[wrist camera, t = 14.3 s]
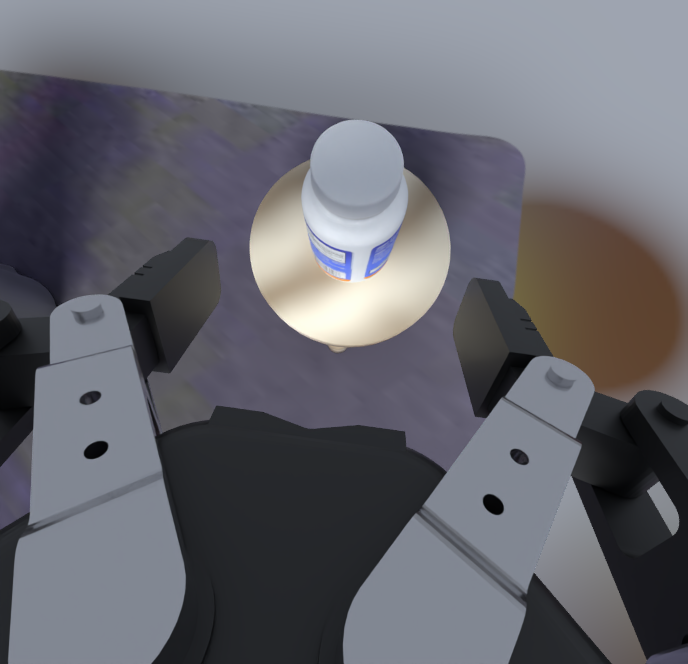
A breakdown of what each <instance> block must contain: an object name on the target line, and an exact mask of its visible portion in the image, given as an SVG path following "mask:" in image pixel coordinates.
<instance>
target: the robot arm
mask: <svg viewBox="0 0 688 664" xmlns="http://www.w3.org/2000/svg"><path fill="white" fill-rule="evenodd" d="M220 294H221V283H220V275H219V267H218V259H217V251H216V246H215V244H214V242H213V241H210V240H202V239H195V238H188V237H187V238H185V239H184V240H183V241H182V242H181V243H179V244H178V245H177V246H176V247H175V248H174V249H173V250H171V251H167V252H164V253H162V254H159V255H157V256H155V257H153V258H152V259H150V260H149V261H148V262H147V263H146V264H144V265H143V268H142V267H141V268H140V269H138V270H137V271H136V272H135V274H134V275H131V276H130V277H129V278H128V279H126V280H125V281H124V282H123V283H122V284H120V285H119V286H118V287H117V288H116V289H114V290H113V291H112V292H111V293H110V294H108V295H88V296H82V297H78V298H75V299H72V300H69V301H67V302H65V303H63V304H61V305H59V306H58V307H57V306H56V304H55V301H54V299H53V297H52V295H51V294H50V292H49V291H48V290H47V289H46V288H45V287H44V286H43V285H42V284H41V283H39V282H37V281H35V280H34V279H32V278H29V277H25V276H22V275H19V274H18V273H17V272H16V270H15V269H14V268H13V267H11V266H8V265H5V264H2V263H0V467H1V466H2V464H3V463H4V462H5V461H6V460H7V459H8V458H9V456H10V455H11V454H12V453H13V452H14V451H15V450H16V448H17V447H18V446H19V445H20V444H21V443H22V442H23V440H24V439H25V438H26V437H27V436H28V435H29V434H30V432H31V431H32V430H33V449H32V474H31V499H30V512H29V513H28V514H26V515H24V516H23V517H21V518H19V519H18V520H16V521H14V522H13V523H11V524H9V525H8V526H6V527H4V528H3V529H1V530H0V664H611V662H610V661H609V660H608V659H607V658H606V657H605V655H604V654H603V653H602V652H601V651H600V650H599V648H598V647H597V646H596V645H595V644H594V642H593V641H592V640H591V639H590V638H589V637H588V635H587V634H586V633H585V632H584V631H583V630H582V628H581V627H580V626H579V625H578V624H577V623H576V621H575V620H574V619H573V618H572V617H571V615H570V614H569V613H568V612H567V611H566V610H565V608H564V607H563V606H562V605H561V604H560V603H559V601H558V600H557V599H556V598H555V597H554V596H553V595H552V593H551V592H550V591H549V590H548V589H547V588H546V586H545V585H544V584H543V583H542V581H541V580H540V579H539V578H538V577H537V576H536V574H535V573H534V570H535V567H536V565H537V562H538V560H539V557H540V554H541V552H542V549H543V546H544V544H545V541H546V538H547V536H548V533H549V531H550V528H551V526H552V523H553V520H554V518H555V515H556V512H557V510H558V507H559V505H560V502H561V499H562V496H563V494H564V491H565V489H566V486H567V483H568V481H569V478H570V476H572V478H573V481H574V483H575V485H576V488H577V490H578V493H579V495H580V498H581V500H582V503H583V505H584V507H585V510H586V512H587V515H588V517H589V519H590V522H591V524H592V527H593V529H594V532H595V534H596V537H597V539H598V542H599V544H600V547H601V549H602V551H603V554H604V556H605V559H606V561H607V564H608V566H609V569H610V571H611V574H612V576H613V578H614V581H615V583H616V586H617V588H618V590H619V593H620V596H621V598H622V600H623V603H624V605H625V608H626V610H627V613H628V615H629V618H630V620H631V622H632V625H633V627H634V630H635V632H636V635H637V637H638V640H639V642H640V644H641V647H642V649H643V652H644V654H645V656H646V659H647V662H646V664H688V405H686V404H685V403H683V402H681V401H679V400H678V399H676V398H674V397H671V396H669V395H666V394H663V393H661V392H656V391H651V390H643V391H640V392H638V393H637V394H636V395H635V396H634V397H633V398H632V399H631V400H630V402H629V403H626V402H623V401H620V400H617V399H614V398H612V397H608V396H606V395H603V394H600V393H597V392H595V391H594V385H593V383H592V381H591V380H590V378H589V377H588V376H587V375H586V374H585V373H584V372H582V371H581V370H580V369H579V368H577V367H576V366H574V365H572V364H571V363H568V362H566V361H564V360H561V359H559V358H555V357H553V355H552V353H551V352H550V350H549V349H548V347H547V345H546V343H545V342H544V340H543V338H542V337H541V335H540V333H539V332H538V331H536V330H537V328H536V327H535V325H534V324H533V322H531V318H530V317H529V315H528V313H527V312H526V310H525V309H524V308H523V307H522V306H520V305H519V304H518V303H517V302H516V301H515V300H513V299H509V298H508V296H507V295H506V293H505V291H504V289H503V287H502V286H501V284H500V282H499V281H494V280H487V279H480V278H473V279H471V281H470V282H469V284H468V287H467V289H466V292H465V295H464V297H463V300H462V303H461V305H460V308H459V311H458V313H457V316H456V319H455V322H454V327H453V337H454V341H455V345H456V349H457V352H458V356H459V360H460V363H461V367H462V371H463V374H464V378H465V382H466V385H467V389H468V393H469V396H470V400H471V404H472V407H473V411H474V415H475V417H482V418H486V420H485V421H484V423H483V424H482V425H481V427H480V428H479V429H478V431H477V432H476V434H475V435H474V436H473V438H472V439H471V440H470V442H469V443H468V445H467V446H466V447H465V449H464V450H463V451H462V453H461V454H460V455H459V457H458V458H457V460H456V461H455V462H454V464H453V465H452V466H451V468H450V469H449V471H448V472H446V471H445V470H444V469H443V468H442V467H440V466H439V465H438V464H436V463H435V462H434V461H432V460H431V459H429V458H428V457H426V456H424V455H423V454H421V453H419V452H417V451H415V450H413V449H410V448H408V447H406V438H405V432H404V431H397V430H390V429H382V428H375V427H368V426H361V425H356V426H343V427H331V428H319V429H307V428H304V427H301V426H298V425H296V424H293V423H291V422H288V421H285V420H283V419H280V418H277V417H275V416H272V415H269V414H267V413H264V412H259V411H252V410H245V409H237V408H230V407H223V406H216V407H215V410H214V412H213V414H212V416H211V418H210V420H205V421H199V422H194V423H189V424H186V425H182V426H179V427H176V428H174V429H171V430H168V431H166V432H164V433H163V432H162V428H161V425H160V421H159V417H158V414H157V410H156V407H155V403H154V399H153V396H152V392H151V388H150V385H149V382H148V379H147V377H148V376H149V374H150V373H151V372H152V371H156V372H163V373H171V371H172V370H173V368H174V367H175V365H176V364H177V362H178V361H179V360H180V358H181V357H182V355H183V354H184V352H185V351H186V349H187V348H188V346H189V345H190V344H191V342H192V341H193V339H194V338H195V336H196V335H197V333H198V332H199V330H200V329H201V327H202V326H203V325H204V323H205V322H206V320H207V319H208V317H209V316H210V314H211V313H212V311H213V310H214V309H215V307H216V306H217V304H218V302H219V299H220ZM659 481H660V483H661V484H662V486H663V488H664V489H665V491H666V492H667V494H668V496H669V497H670V499H671V500H672V502H673V504H674V505H675V507H676V509H677V512H678V514H679V528H678V530H677V532H676V534H675V535H673V536H672V534H671V532H670V531H669V529H668V527H667V525H666V524H665V522H664V520H663V518H662V517H661V515H660V513H659V511H658V510H657V508H656V506H655V504H654V503H653V501H652V499H651V497H650V496H649V494H648V492H647V490H648V489H650V488H651V487H652V486H653V485H655V484H656V483H657V482H659Z"/></svg>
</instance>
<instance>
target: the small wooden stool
mask: <svg viewBox="0 0 688 664" xmlns="http://www.w3.org/2000/svg"><path fill="white" fill-rule="evenodd" d="M309 169H310V160H308V161H306V162H304V163H302V164H300V165H298V166H297V167H295V168H293V169H292V170H290V171H289V172H288V173H286V174H285V175H284V176H282V177H281V178H280V179H279V180H278V181H277V182H276V183H275V184H274V185H273V186H272V188H271V189H270V190H269V192H268V193H267V194H266V196H265V197H264V199H263V201H262V203H261V204H260V206H259V208H258V211H257V213H256V216H255V218H254V222H253V225H252V229H251V236H250V259H251V265H252V270H253V273H254V277H255V280H256V282H257V285H258V287H259V289H260V291H261V293H262V295H263V296H264V298H265V299H266V301H267V303H268V304H269V305H270V306H271V308H272V309H273V310H274V311H275V312H276V313H277V315H278V316H279V317H280V318H281V319H282V320H283V321H285V322H286V323H287V324H288V325H289V326H290V327H291V328H293V329H294V330H296V331H297V332H299V333H300V334H302V335H304V336H306V337H308V338H310V339H312V340H314V341H317V342H320V343H323V344H327V345H328V347H329V349H330V350H331V351H332V352H334V353H342V352H344V351H345V350H346V349H347V347H363V346H368V345H374V344H377V343H380V342H383V341H386V340H388V339H390V338H392V337H394V336H396V335H398V334H399V333H401V332H402V331H404V330H405V329H407V328H408V327H410V326H411V325H413V324H414V323H415V322H416V321H417V320H419V319H420V318H421V317H422V316H423V315H424V314H425V313H426V312H427V310H428V309H429V308H430V307H431V306H432V304H433V303H434V301H435V300H436V298H437V297H438V295H439V293H440V291H441V289H442V287H443V285H444V282H445V279H446V276H447V273H448V268H449V262H450V247H451V246H450V236H449V231H448V227H447V222H446V220H445V217H444V214H443V212H442V209H441V208H440V206H439V204H438V202H437V200H436V199H435V197H434V196H433V194H432V193H431V192H430V190H429V189H428V188H427V187H426V186H425V185H424V184H423V182H422V181H421V180H420V179H418V178H417V177H416V176H415V175H414V174H412V173H411V172H410V171H408V170H407V169H405V168H404V169H403V175H404V177H405V180H406V183H407V188H408V204H407V209H406V213H405V217H404V220H403V222H402V225H401V227H400V230H399V233H398V235H397V238H396V240H395V243H394V245H393V248H392V251H391V253H390V256H389V258H388V260H387V262H386V264H385V265H384V267H383V268H382V269H381V270H380V271H379V272H378V273H377V274H376V275H374V276H373V277H371V278H370V279H367V280H365V281H361V282H354V283H351V282H342V281H339V280H336V279H334V278H332V277H330V276H329V275H327V274H326V273H325V272H324V271H323V270H322V269H321V268H320V267H319V265H318V264H317V262H316V260H315V258H314V255H313V252H312V248H311V244H310V240H309V236H308V232H307V227H306V223H305V218H304V214H303V209H302V201H301V193H302V187H303V183H304V179H305V177H306V174H307V172H308V170H309Z"/></svg>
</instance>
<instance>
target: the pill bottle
mask: <svg viewBox="0 0 688 664" xmlns="http://www.w3.org/2000/svg"><path fill="white" fill-rule="evenodd" d="M403 169H404V160H403V155H402V151H401V148H400V146H399V144H398V142H397V141H396V139H395V138H394V137H393V136H392V135H391V133H389V132H388V131H387V130H386V129H385V128H383V127H381V126H380V125H378V124H375V123H373V122H370V121H365V120H347V121H343V122H340V123H337V124H335V125H333V126H331V127H330V128H328V129H327V130H326V131H325V132H324V133H323V134H322V135H321V136H320V137H319V138H318V140H317V141H316V143H315V145H314V147H313V150H312V153H311V158H310V169H309V170H308V172H307V174H306V177H305V179H304V183H303V187H302V193H301V201H302V209H303V214H304V218H305V223H306V227H307V232H308V236H309V240H310V244H311V248H312V252H313V255H314V258H315V260H316V262H317V264H318V265H319V267H320V268H321V269H322V270H323V271H324V272H325V273H326V274H327V275H329V276H330V277H332V278H334V279H336V280H339V281H342V282H351V283H354V282H361V281H365V280H367V279H370V278H371V277H373V276H374V275H376V274H377V273H378V272H379V271H380V270H381V269H382V268H383V267H384V265H385V264H386V262H387V260H388V258H389V256H390V253H391V251H392V248H393V245H394V243H395V240H396V238H397V235H398V233H399V230H400V227H401V225H402V222H403V220H404V217H405V213H406V209H407V204H408V188H407V183H406V180H405V177H404V175H403Z"/></svg>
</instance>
